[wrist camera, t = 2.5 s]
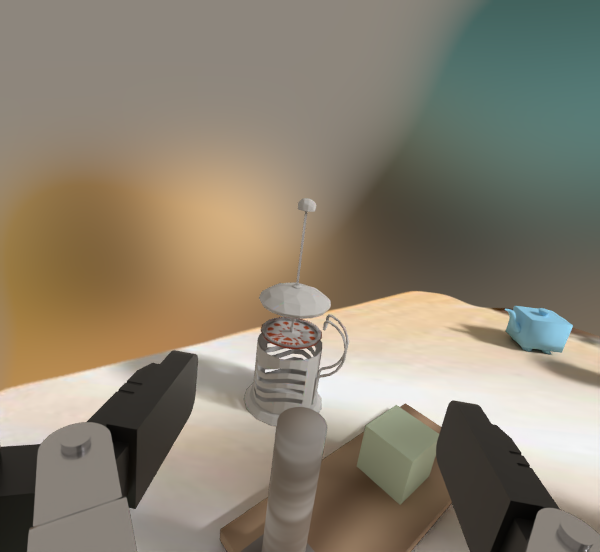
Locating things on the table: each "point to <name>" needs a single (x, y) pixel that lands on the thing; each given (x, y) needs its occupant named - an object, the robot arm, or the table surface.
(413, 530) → the wooden board with post
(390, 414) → the cube
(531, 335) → the teapot
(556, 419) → the table surface
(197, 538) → the table surface
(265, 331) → the french press
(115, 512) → the robot arm
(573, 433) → the table surface
